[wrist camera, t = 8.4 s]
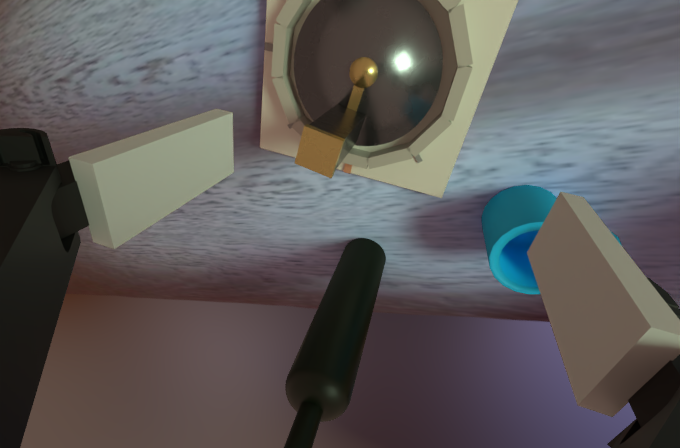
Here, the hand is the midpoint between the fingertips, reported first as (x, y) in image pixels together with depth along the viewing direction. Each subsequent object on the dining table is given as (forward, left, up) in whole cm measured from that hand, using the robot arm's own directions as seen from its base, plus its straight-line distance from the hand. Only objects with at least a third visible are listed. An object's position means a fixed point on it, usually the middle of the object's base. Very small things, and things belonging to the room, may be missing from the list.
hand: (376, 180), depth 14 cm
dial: (+5, -1, -23) cm, 23 cm away
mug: (-17, +10, -25) cm, 32 cm away
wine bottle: (+1, +22, -25) cm, 33 cm away
